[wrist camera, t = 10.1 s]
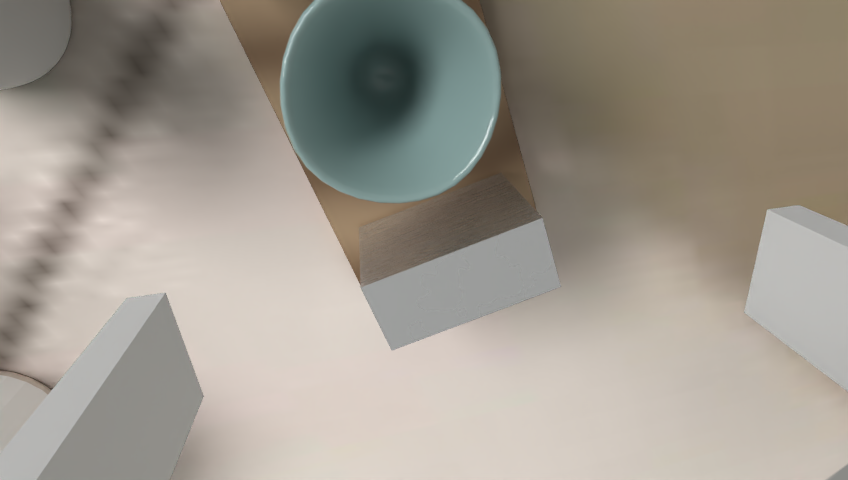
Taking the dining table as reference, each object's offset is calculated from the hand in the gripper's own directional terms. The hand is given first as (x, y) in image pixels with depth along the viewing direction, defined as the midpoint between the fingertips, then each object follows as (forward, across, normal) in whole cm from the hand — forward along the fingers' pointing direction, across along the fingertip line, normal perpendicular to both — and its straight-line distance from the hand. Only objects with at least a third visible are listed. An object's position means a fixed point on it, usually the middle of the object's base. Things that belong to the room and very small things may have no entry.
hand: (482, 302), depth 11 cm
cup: (+18, -1, +3) cm, 19 cm away
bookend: (+18, +1, -6) cm, 19 cm away
